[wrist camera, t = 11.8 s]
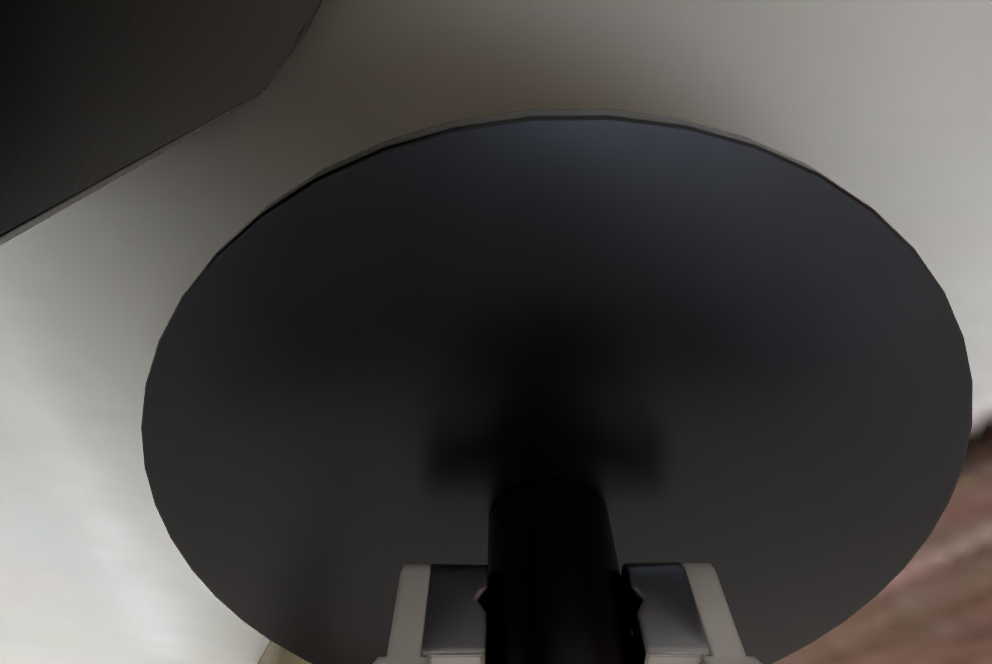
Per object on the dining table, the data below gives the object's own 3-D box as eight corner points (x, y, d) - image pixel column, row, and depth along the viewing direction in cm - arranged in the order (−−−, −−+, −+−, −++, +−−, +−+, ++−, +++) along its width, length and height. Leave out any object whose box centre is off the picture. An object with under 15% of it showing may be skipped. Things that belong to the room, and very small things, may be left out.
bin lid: (161, 613, 15) (9, 904, 11) (186, -74, 7) (-374, -138, 3) (693, 709, 18) (763, 979, 13) (1137, 274, 10) (1718, 559, 5)
